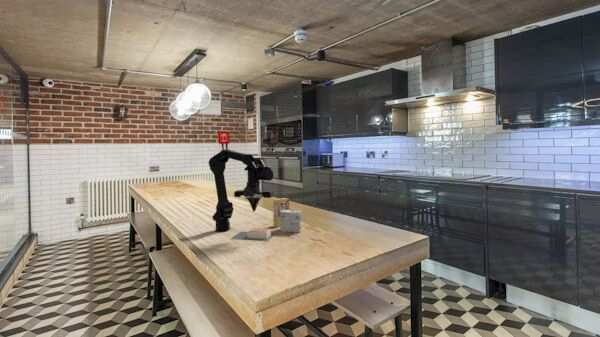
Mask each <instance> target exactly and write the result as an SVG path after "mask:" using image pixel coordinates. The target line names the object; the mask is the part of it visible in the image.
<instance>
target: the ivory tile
mask: <svg viewBox="0 0 600 337" xmlns="http://www.w3.org/2000/svg"><path fill="white" fill-rule="evenodd" d="M246 232H247V238H259V239H267V238H269V237H270V236H271V233H272V229H271V228H266V227H265V228H263V227H262V228H261V227H260V228H258V227H252V228H251V229H249V230H248V231H246Z"/></svg>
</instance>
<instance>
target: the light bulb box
mask: <svg viewBox="0 0 600 337" xmlns="http://www.w3.org/2000/svg"><path fill="white" fill-rule="evenodd" d="M279 228H280V232H290V233H301V230H302V210H301V209H289V210H282V211H281V212H280V227H279Z"/></svg>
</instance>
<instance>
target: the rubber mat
mask: <svg viewBox="0 0 600 337" xmlns="http://www.w3.org/2000/svg"><path fill="white" fill-rule="evenodd" d="M247 232H248V231H240V232H239V233H236V234H235V235H233V236H232V237H231V238H230V240H238V241H241V240H242V241H254V242H256V241H258V242H268V241H270V240H271V239H272V238H273V236H275V235H276V232H274V233H273V232H271V236H270V237H269V238H267V239H259V238H247Z"/></svg>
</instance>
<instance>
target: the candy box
mask: <svg viewBox="0 0 600 337" xmlns="http://www.w3.org/2000/svg"><path fill="white" fill-rule="evenodd" d="M272 203H273V204H272V205H273V207H272V208H273V209H272V210H273V213H272V214H273V218H272V219H273V227H274V228H280V212H281V211H282V210H290V198H288V197H287V198H286V197H282V198H276V199H273V202H272Z"/></svg>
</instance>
